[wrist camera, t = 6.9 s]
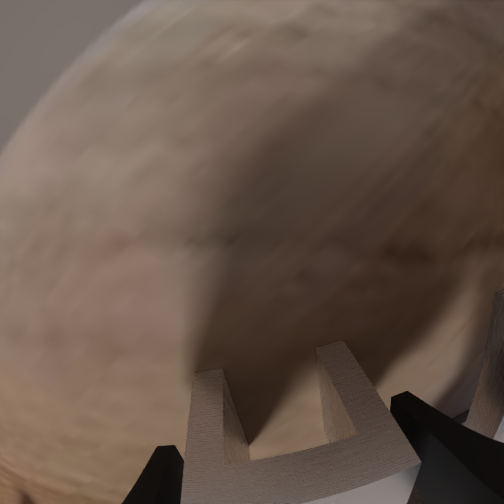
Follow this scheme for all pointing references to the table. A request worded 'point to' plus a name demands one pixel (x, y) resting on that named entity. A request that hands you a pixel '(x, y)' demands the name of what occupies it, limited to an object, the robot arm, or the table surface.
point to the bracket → (306, 461)
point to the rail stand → (486, 387)
